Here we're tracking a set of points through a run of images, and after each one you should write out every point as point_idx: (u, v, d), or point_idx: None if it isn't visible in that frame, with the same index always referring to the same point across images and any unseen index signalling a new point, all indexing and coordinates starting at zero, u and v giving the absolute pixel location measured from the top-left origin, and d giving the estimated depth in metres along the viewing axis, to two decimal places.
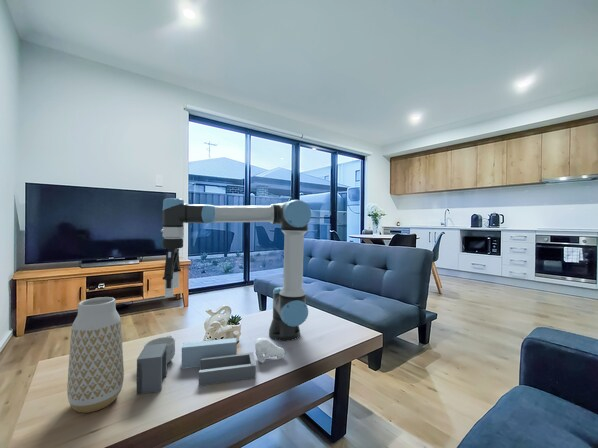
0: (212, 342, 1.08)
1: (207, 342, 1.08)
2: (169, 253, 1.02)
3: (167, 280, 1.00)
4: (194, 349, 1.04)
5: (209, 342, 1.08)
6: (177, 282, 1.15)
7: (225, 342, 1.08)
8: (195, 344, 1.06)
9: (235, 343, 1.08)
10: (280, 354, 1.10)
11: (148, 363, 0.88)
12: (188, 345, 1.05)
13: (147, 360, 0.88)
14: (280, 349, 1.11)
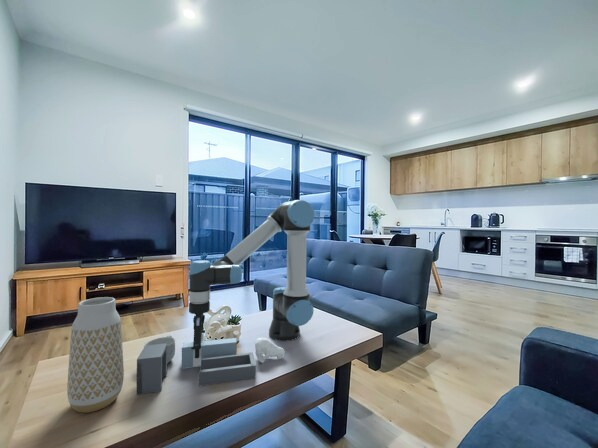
0: (212, 342, 1.08)
1: (207, 342, 1.08)
2: (197, 321, 0.99)
3: (196, 350, 0.98)
4: None
5: (209, 342, 1.08)
6: None
7: (225, 342, 1.08)
8: None
9: (235, 343, 1.08)
10: (280, 354, 1.10)
11: (148, 363, 0.88)
12: (188, 345, 1.05)
13: (147, 360, 0.88)
14: (280, 349, 1.11)
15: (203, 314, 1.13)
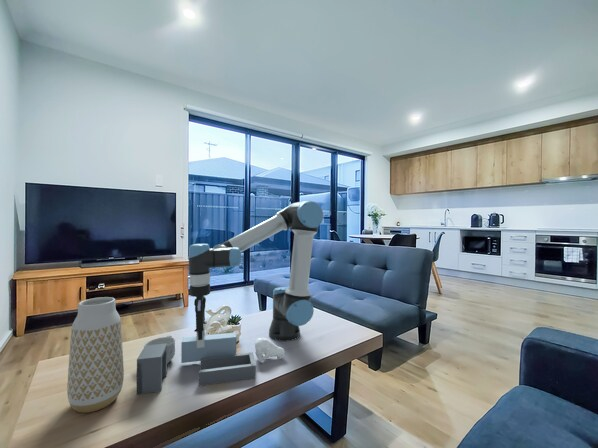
0: (211, 337, 1.08)
1: (207, 336, 1.08)
2: (198, 307, 1.00)
3: (199, 332, 1.03)
4: (193, 344, 1.04)
5: (209, 337, 1.08)
6: None
7: (224, 337, 1.08)
8: (195, 338, 1.06)
9: (235, 338, 1.08)
10: (280, 354, 1.10)
11: (148, 363, 0.88)
12: (187, 339, 1.05)
13: (147, 360, 0.88)
14: (280, 349, 1.11)
15: None
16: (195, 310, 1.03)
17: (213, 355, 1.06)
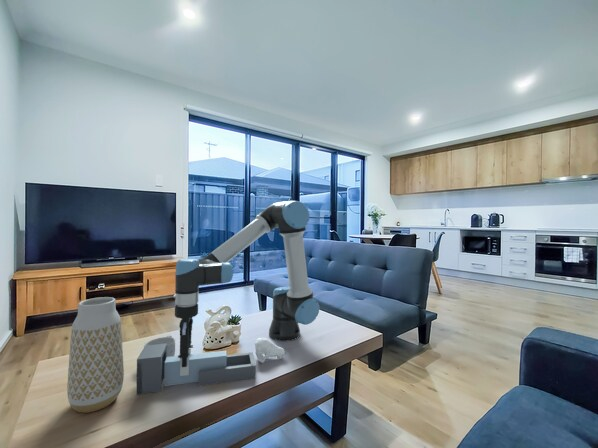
0: (199, 356, 0.97)
1: (194, 356, 0.97)
2: (183, 331, 0.89)
3: (183, 358, 0.92)
4: (178, 364, 0.93)
5: (196, 356, 0.97)
6: None
7: (213, 355, 0.97)
8: None
9: (225, 357, 0.97)
10: (280, 354, 1.10)
11: (148, 363, 0.88)
12: (172, 359, 0.94)
13: (147, 360, 0.88)
14: (280, 349, 1.11)
15: None
16: None
17: None
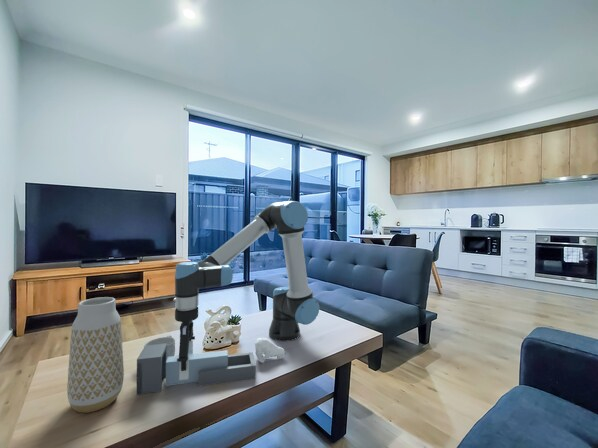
0: (200, 355, 0.97)
1: (195, 355, 0.97)
2: (184, 330, 0.89)
3: (182, 362, 0.88)
4: None
5: (197, 355, 0.97)
6: (191, 352, 1.02)
7: (214, 355, 0.97)
8: None
9: (226, 356, 0.98)
10: (280, 354, 1.10)
11: (148, 363, 0.88)
12: (173, 359, 0.94)
13: (147, 360, 0.88)
14: (280, 349, 1.11)
15: None
16: None
17: None
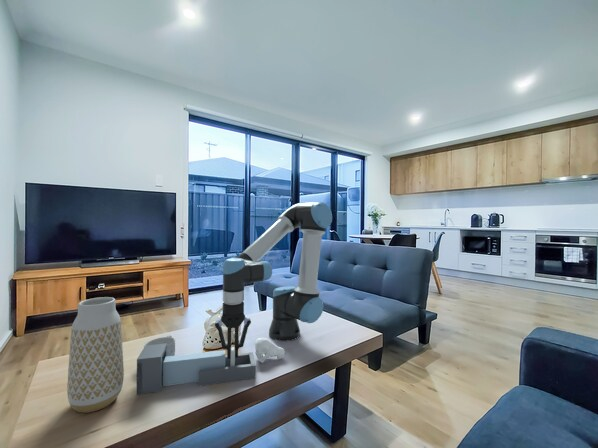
0: (197, 355, 0.97)
1: (193, 355, 0.97)
2: (215, 324, 0.98)
3: (227, 349, 1.00)
4: (177, 364, 0.93)
5: (195, 355, 0.97)
6: None
7: (212, 355, 0.97)
8: (179, 358, 0.95)
9: (224, 356, 0.97)
10: (280, 354, 1.10)
11: (148, 363, 0.88)
12: (170, 359, 0.94)
13: (147, 360, 0.88)
14: (280, 349, 1.11)
15: (247, 326, 1.00)
16: None
17: None
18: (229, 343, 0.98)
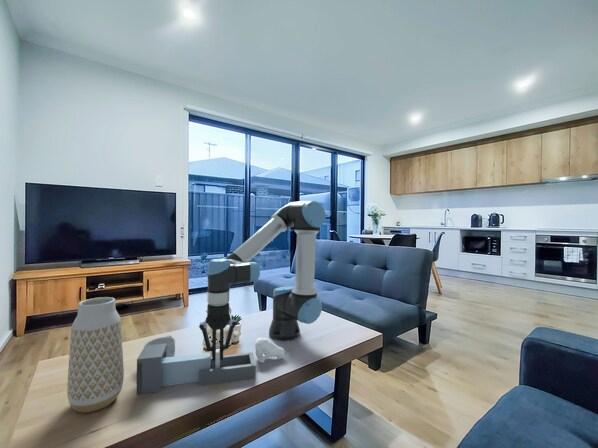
0: (182, 358, 0.95)
1: (177, 358, 0.95)
2: None
3: (212, 351, 0.98)
4: None
5: (179, 358, 0.95)
6: None
7: (197, 358, 0.96)
8: (162, 360, 0.93)
9: (208, 359, 0.96)
10: (280, 354, 1.10)
11: (148, 363, 0.88)
12: None
13: (147, 360, 0.88)
14: (280, 349, 1.11)
15: (232, 327, 0.99)
16: None
17: (183, 379, 0.94)
18: (214, 345, 0.97)
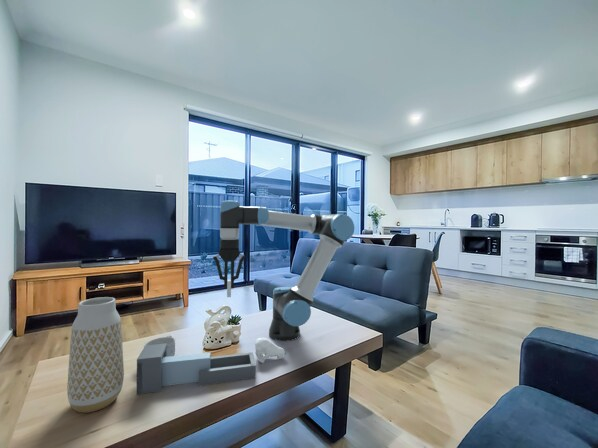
0: (181, 358, 0.95)
1: (177, 357, 0.95)
2: None
3: (224, 280, 1.13)
4: None
5: (179, 358, 0.95)
6: None
7: (196, 358, 0.95)
8: (162, 360, 0.94)
9: (208, 359, 0.96)
10: (280, 354, 1.10)
11: (148, 363, 0.88)
12: None
13: (147, 360, 0.88)
14: (280, 349, 1.11)
15: (241, 260, 1.13)
16: None
17: (183, 379, 0.94)
18: (226, 274, 1.11)
